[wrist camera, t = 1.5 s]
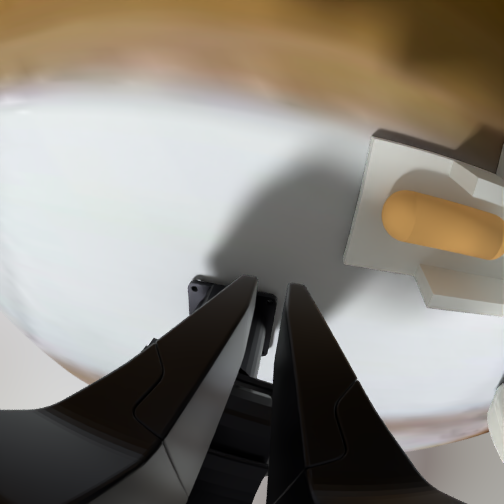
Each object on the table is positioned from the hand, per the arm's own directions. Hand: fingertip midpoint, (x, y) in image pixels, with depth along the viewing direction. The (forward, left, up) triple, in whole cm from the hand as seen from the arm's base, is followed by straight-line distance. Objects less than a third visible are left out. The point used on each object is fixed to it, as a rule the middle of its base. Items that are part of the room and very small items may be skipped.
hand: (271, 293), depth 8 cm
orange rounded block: (-1, -10, -10) cm, 14 cm away
